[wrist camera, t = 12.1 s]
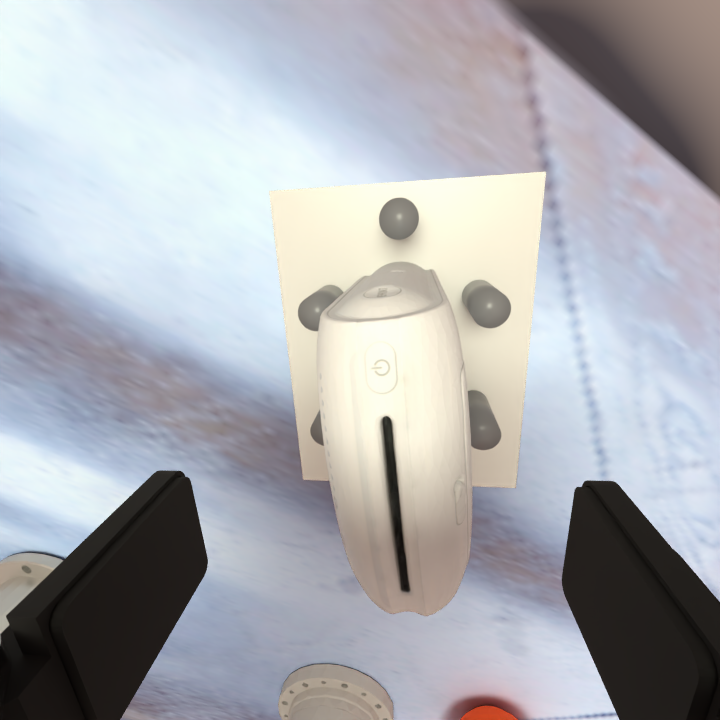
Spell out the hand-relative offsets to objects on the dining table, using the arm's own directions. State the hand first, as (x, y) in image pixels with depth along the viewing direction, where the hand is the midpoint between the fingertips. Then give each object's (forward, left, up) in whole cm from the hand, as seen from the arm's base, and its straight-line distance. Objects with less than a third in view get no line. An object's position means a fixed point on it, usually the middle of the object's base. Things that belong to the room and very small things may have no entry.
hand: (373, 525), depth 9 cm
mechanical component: (-33, +6, -15) cm, 36 cm away
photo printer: (0, -1, -13) cm, 13 cm away
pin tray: (0, 0, -14) cm, 14 cm away
